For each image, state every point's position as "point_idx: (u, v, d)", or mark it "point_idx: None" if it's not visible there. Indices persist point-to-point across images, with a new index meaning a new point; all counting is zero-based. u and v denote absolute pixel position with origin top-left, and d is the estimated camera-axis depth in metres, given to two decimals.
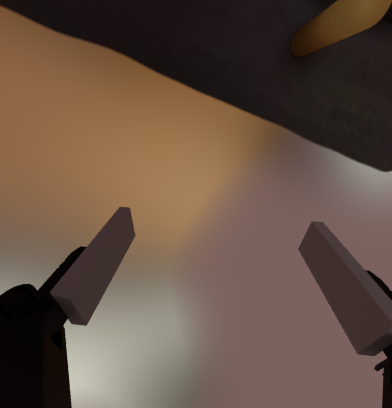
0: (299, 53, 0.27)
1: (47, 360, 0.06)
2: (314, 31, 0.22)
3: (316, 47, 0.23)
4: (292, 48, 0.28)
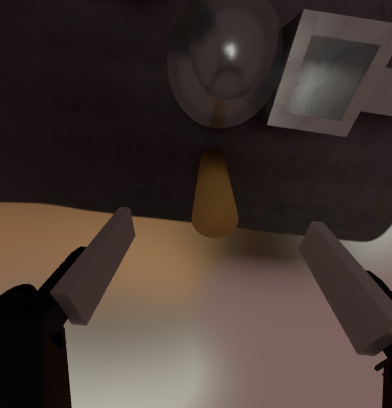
0: None
1: (47, 360, 0.06)
2: None
3: None
4: None
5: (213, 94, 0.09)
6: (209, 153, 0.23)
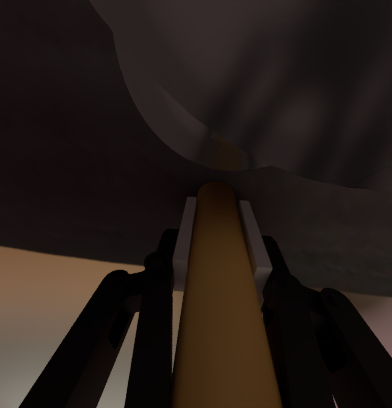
0: None
1: (170, 323, 0.07)
2: None
3: None
4: None
5: (262, 146, 0.01)
6: (211, 192, 0.14)
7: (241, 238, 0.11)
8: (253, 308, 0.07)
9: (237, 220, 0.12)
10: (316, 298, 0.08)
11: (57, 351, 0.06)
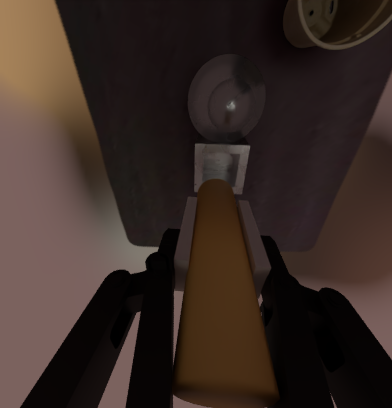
0: None
1: (171, 323, 0.07)
2: None
3: None
4: None
5: (209, 98, 0.15)
6: (211, 189, 0.15)
7: (239, 231, 0.11)
8: (249, 293, 0.08)
9: (235, 215, 0.13)
10: (314, 298, 0.08)
11: (59, 351, 0.06)
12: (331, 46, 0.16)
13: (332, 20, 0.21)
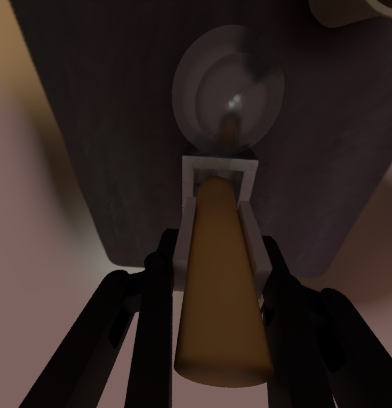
0: None
1: (170, 323, 0.07)
2: None
3: None
4: None
5: (198, 89, 0.08)
6: (211, 186, 0.16)
7: (238, 226, 0.12)
8: (247, 280, 0.08)
9: (235, 210, 0.13)
10: (316, 298, 0.08)
11: (57, 351, 0.06)
12: None
13: None
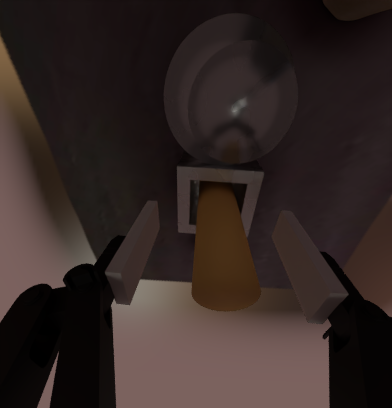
0: None
1: (102, 336, 0.06)
2: None
3: None
4: None
5: (192, 91, 0.06)
6: None
7: (235, 203, 0.14)
8: (242, 238, 0.11)
9: (232, 192, 0.16)
10: None
11: None
12: None
13: None
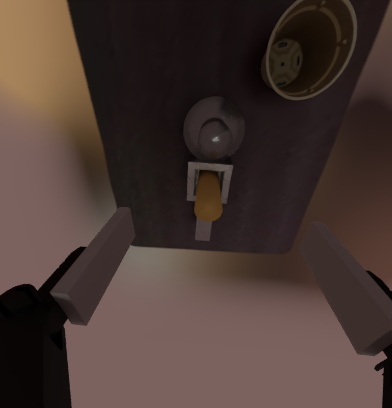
0: None
1: (47, 360, 0.06)
2: None
3: None
4: None
5: (199, 135, 0.20)
6: None
7: (217, 180, 0.28)
8: (217, 191, 0.24)
9: (216, 175, 0.29)
10: None
11: None
12: (291, 97, 0.22)
13: (299, 70, 0.27)
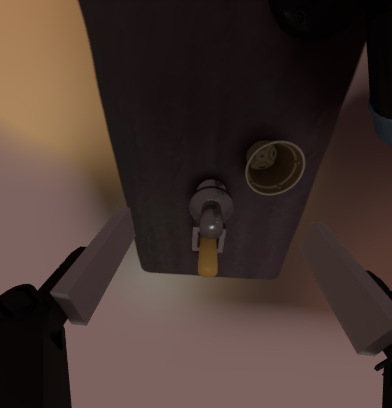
0: None
1: (47, 360, 0.06)
2: None
3: None
4: None
5: (200, 227, 0.29)
6: None
7: (214, 239, 0.38)
8: (214, 254, 0.34)
9: None
10: None
11: None
12: (265, 194, 0.31)
13: (274, 158, 0.36)
